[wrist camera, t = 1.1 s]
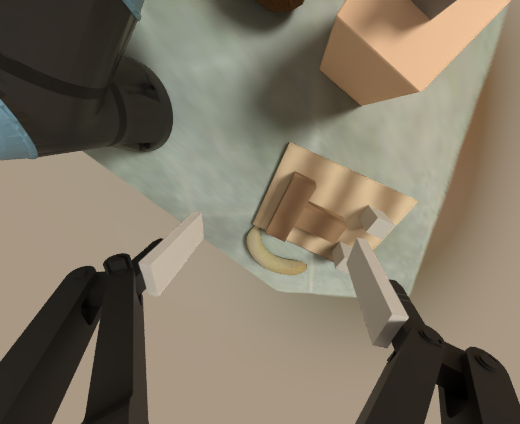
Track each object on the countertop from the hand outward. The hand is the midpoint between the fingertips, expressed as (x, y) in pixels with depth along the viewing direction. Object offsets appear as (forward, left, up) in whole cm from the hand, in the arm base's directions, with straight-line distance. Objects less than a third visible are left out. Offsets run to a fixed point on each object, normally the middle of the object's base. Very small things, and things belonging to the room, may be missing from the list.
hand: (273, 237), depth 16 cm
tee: (+7, -5, -21) cm, 22 cm away
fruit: (+5, -17, -22) cm, 29 cm away
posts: (+17, -5, -21) cm, 27 cm away
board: (+10, -4, -22) cm, 24 cm away
